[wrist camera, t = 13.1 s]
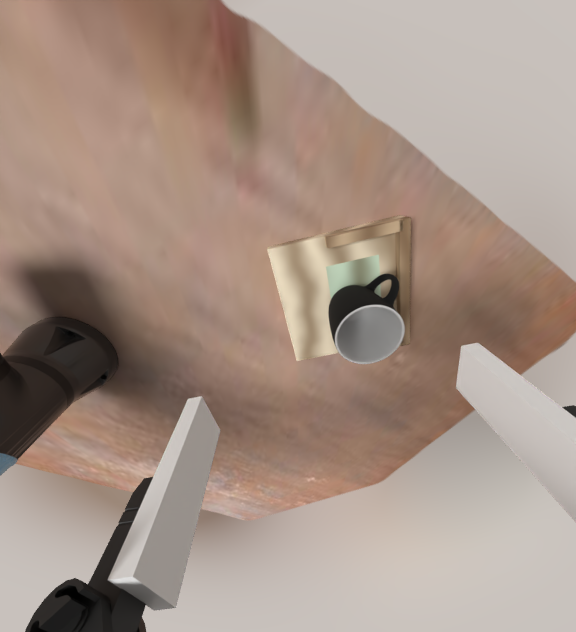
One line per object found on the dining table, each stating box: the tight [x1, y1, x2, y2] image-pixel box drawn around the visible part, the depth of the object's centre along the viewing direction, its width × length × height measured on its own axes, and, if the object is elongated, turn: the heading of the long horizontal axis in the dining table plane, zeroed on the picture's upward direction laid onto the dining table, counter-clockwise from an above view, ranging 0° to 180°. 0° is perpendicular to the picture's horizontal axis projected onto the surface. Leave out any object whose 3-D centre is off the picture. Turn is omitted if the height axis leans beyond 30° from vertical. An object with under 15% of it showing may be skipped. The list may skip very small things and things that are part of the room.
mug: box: [328, 273, 405, 364], centre depth 35 cm, size 12×9×10 cm
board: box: [267, 215, 411, 361], centre depth 40 cm, size 20×21×4 cm
